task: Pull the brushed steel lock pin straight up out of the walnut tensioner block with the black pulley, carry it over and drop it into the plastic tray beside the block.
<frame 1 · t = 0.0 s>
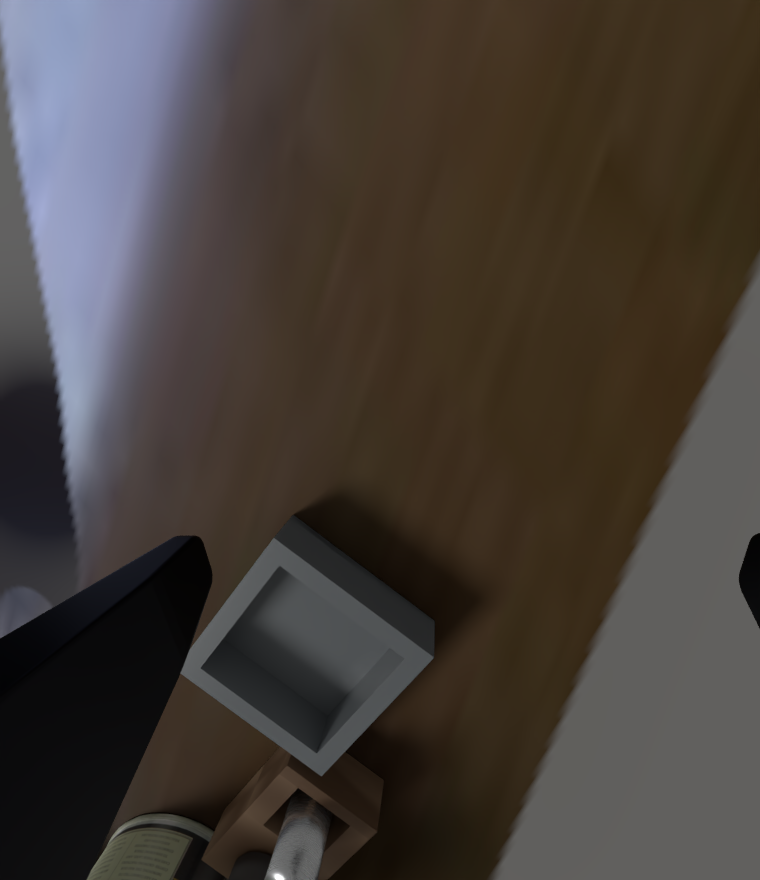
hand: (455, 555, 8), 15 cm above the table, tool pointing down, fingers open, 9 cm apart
lock pin: (319, 775, 28), resting in tensioner block
tensioner block: (301, 795, 29), on the table
coffee can: (178, 869, 32), on the table
pin tray: (314, 627, 26), on the table
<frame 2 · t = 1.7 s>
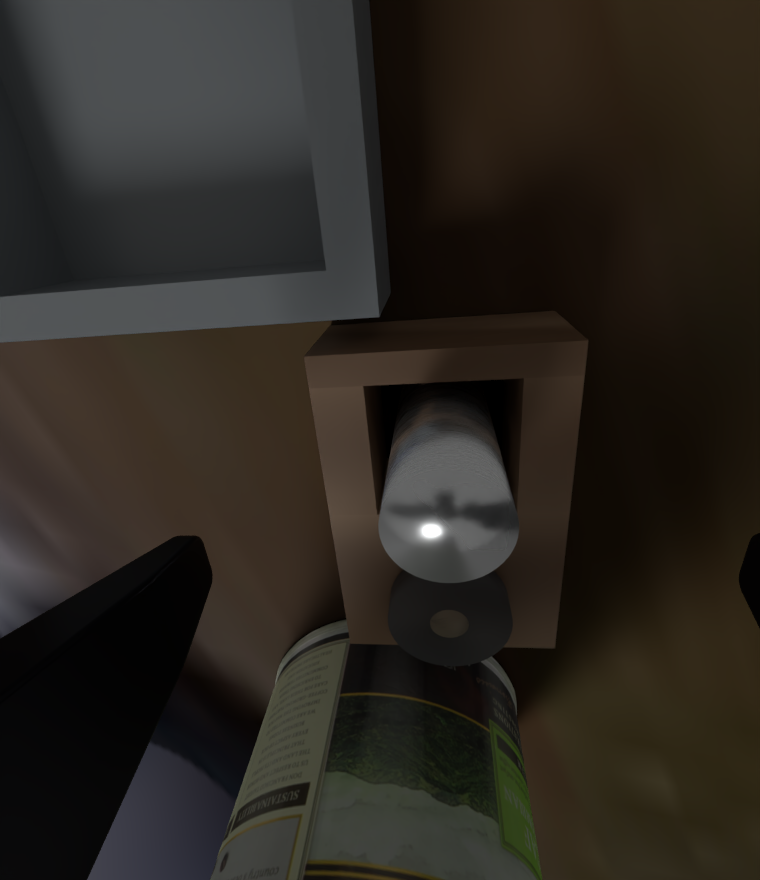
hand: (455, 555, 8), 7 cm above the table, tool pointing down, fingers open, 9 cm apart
lock pin: (441, 404, 14), resting in tensioner block
tensioner block: (443, 463, 15), on the table
coffee can: (392, 696, 20), on the table
pin tray: (173, 98, 11), on the table
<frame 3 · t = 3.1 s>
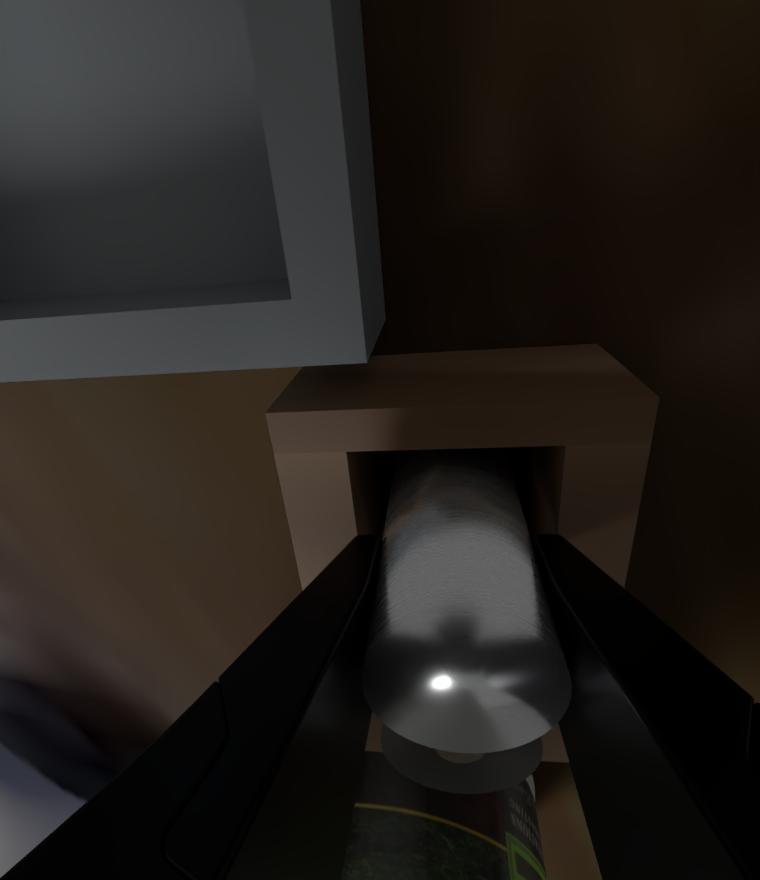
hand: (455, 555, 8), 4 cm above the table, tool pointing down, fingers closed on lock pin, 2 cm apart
lock pin: (449, 455, 11), resting in tensioner block, touching gripper
tensioner block: (451, 525, 12), on the table
coffee can: (389, 774, 17), on the table
pin tray: (97, 66, 8), on the table
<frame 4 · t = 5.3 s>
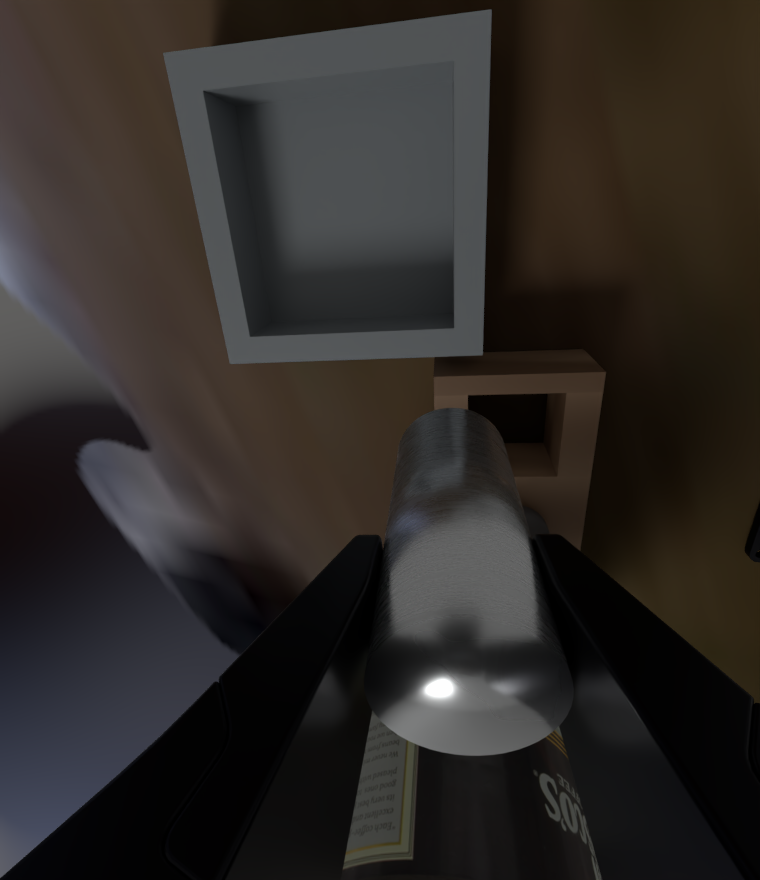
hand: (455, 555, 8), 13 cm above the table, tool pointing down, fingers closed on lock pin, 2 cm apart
lock pin: (450, 457, 11), point 10 cm above the table, touching gripper
tensioner block: (502, 448, 22), on the table
coffee can: (449, 624, 27), on the table
pin tray: (353, 216, 18), on the table
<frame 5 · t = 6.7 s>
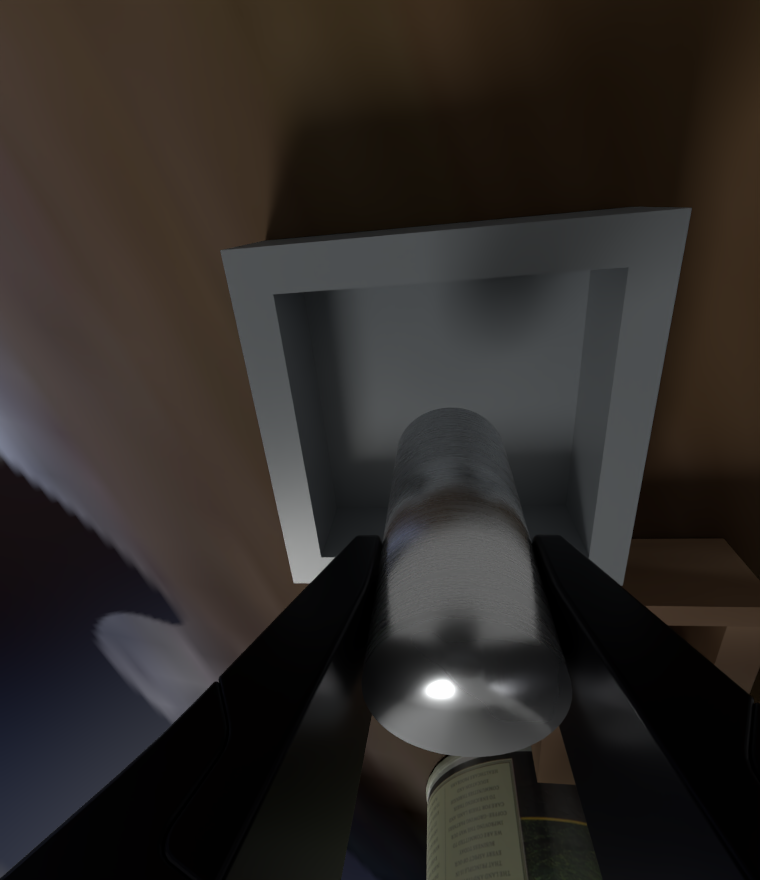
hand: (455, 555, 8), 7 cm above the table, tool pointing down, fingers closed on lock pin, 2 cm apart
lock pin: (449, 456, 11), point 4 cm above the table, touching gripper
tensioner block: (610, 633, 18), on the table
coffee can: (526, 792, 24), on the table
pin tray: (444, 395, 14), on the table
when the fingers open (6 cm above the table, at t = 7.6 s): lock pin drops 2 cm, resting on pin tray.
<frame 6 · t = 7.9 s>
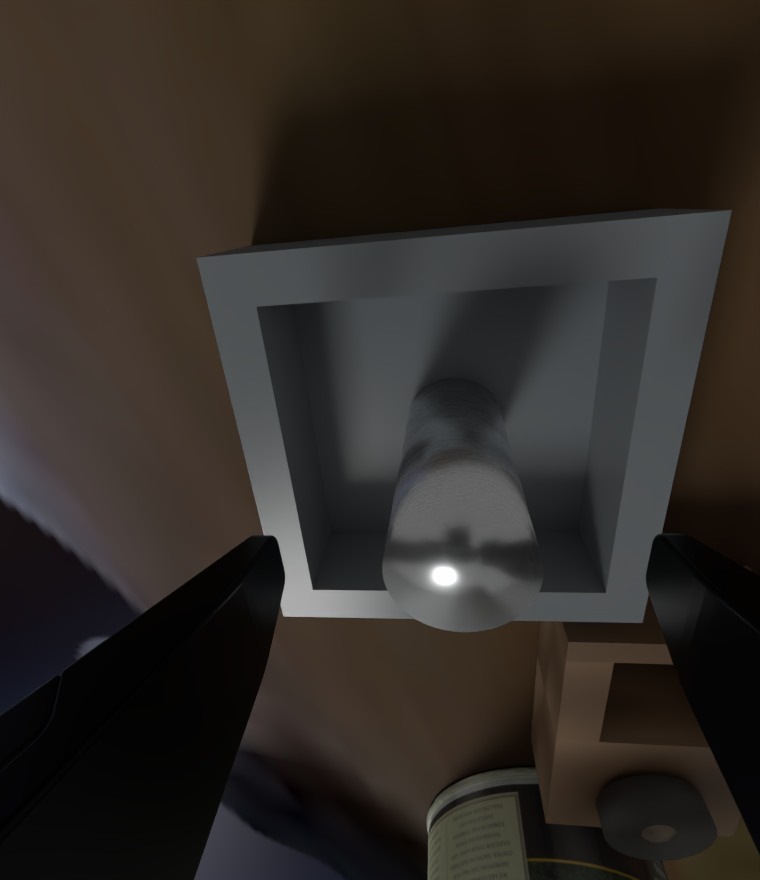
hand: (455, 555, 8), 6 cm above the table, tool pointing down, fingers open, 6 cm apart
lock pin: (454, 421, 13), point 1 cm above the table, touching pin tray
tensioner block: (623, 663, 17), on the table
coffee can: (532, 823, 22), on the table
pin tray: (447, 412, 13), on the table
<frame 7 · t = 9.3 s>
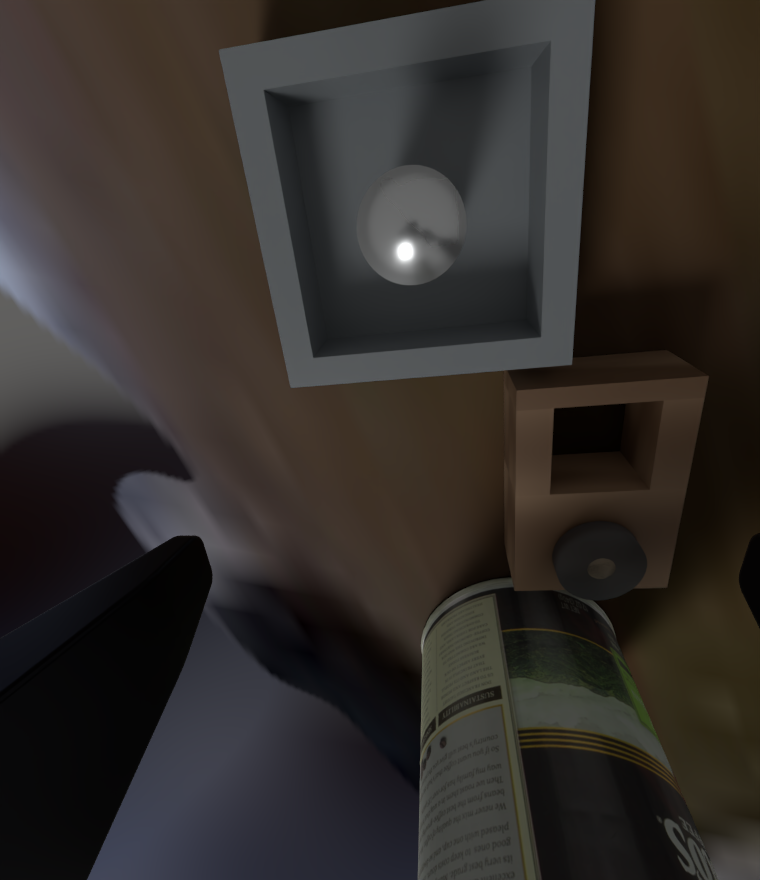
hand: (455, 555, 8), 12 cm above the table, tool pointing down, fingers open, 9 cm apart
lock pin: (420, 221, 16), point 1 cm above the table, touching pin tray
tensioner block: (576, 458, 20), on the table
coffee can: (513, 643, 26), on the table
pin tray: (416, 220, 17), on the table
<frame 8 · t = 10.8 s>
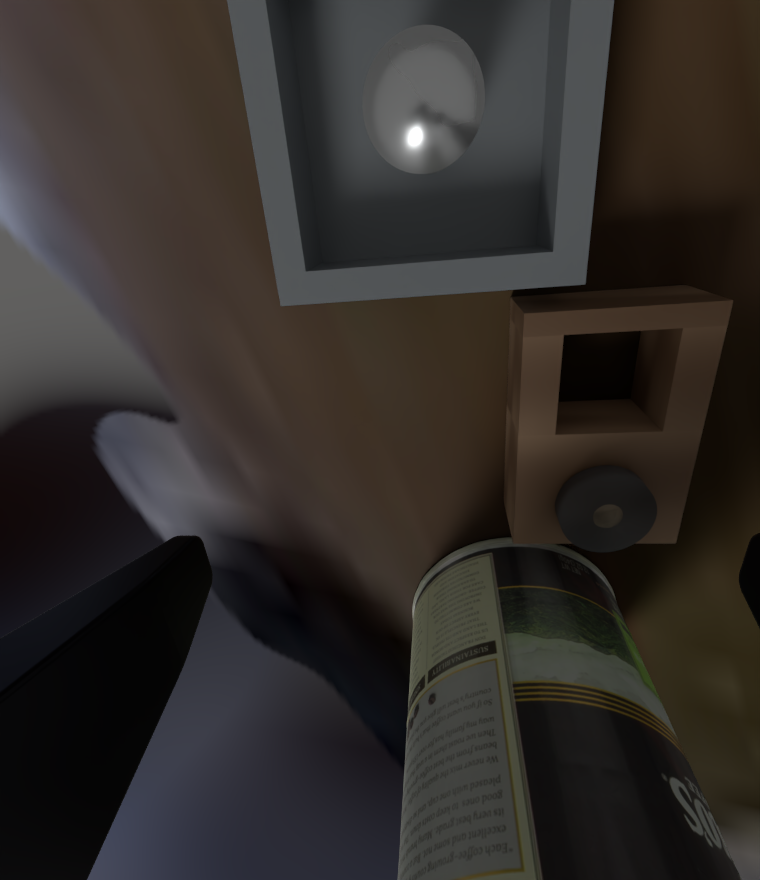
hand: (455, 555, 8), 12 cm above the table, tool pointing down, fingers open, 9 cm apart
lock pin: (427, 128, 15), point 1 cm above the table, touching pin tray
tensioner block: (583, 406, 19), on the table
coffee can: (508, 611, 25), on the table
pin tray: (421, 129, 15), on the table
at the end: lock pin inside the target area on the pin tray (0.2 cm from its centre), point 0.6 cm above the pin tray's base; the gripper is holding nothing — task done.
